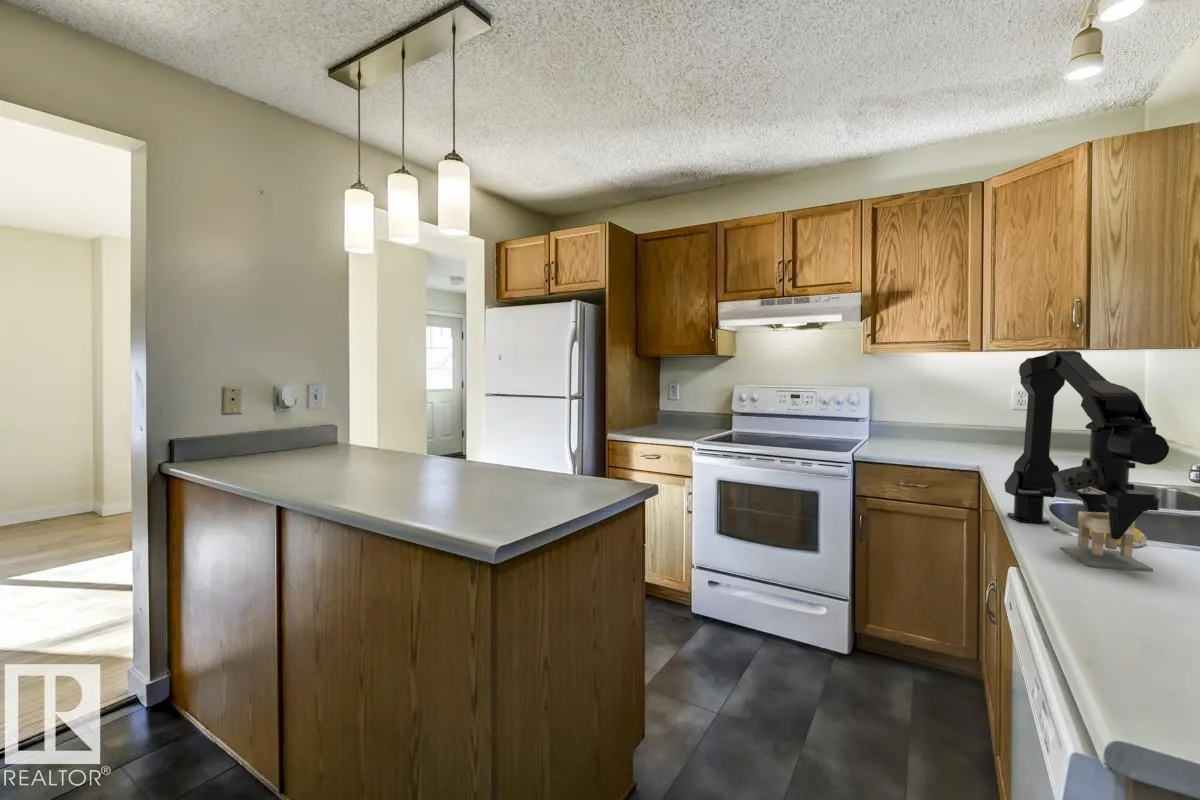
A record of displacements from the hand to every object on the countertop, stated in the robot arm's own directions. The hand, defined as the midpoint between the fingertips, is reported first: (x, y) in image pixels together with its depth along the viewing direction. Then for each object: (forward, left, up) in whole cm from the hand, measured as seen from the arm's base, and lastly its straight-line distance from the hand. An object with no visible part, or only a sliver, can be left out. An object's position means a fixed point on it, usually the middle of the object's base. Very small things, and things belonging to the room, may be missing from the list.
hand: (1105, 533), depth 107 cm
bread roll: (-14, +9, -6) cm, 18 cm away
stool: (0, 0, -4) cm, 4 cm away
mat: (0, 0, -5) cm, 5 cm away
